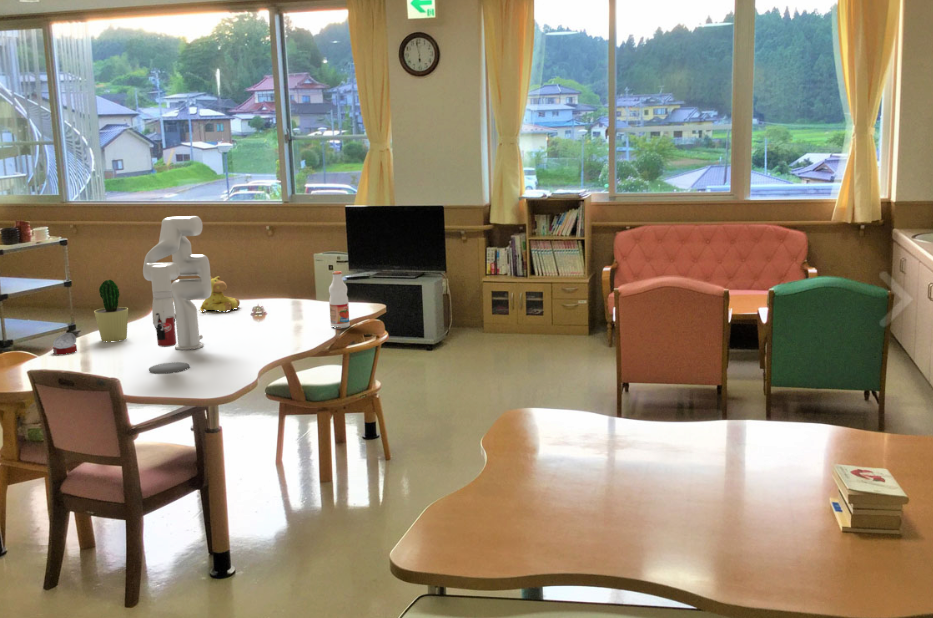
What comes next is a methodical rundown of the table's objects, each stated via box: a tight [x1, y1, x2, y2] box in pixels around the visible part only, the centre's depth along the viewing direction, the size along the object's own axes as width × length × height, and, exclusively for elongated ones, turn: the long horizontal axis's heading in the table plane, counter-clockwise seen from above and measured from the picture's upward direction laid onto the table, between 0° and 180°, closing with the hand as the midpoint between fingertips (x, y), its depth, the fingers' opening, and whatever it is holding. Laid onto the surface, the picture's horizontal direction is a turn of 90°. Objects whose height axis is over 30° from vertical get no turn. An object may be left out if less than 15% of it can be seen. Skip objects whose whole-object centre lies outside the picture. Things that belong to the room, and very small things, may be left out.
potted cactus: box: [93, 279, 129, 343], centre depth 418 cm, size 15×15×30 cm
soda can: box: [155, 316, 177, 348], centre depth 356 cm, size 7×7×12 cm
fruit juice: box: [328, 270, 351, 329], centre depth 433 cm, size 9×9×28 cm
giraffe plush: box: [199, 275, 241, 313], centre depth 493 cm, size 20×24×19 cm
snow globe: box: [52, 332, 78, 355], centre depth 396 cm, size 11×10×10 cm
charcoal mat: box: [148, 361, 190, 374], centre depth 359 cm, size 16×16×1 cm
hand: (166, 337), depth 356 cm, fingers closed on soda can, 7 cm apart
